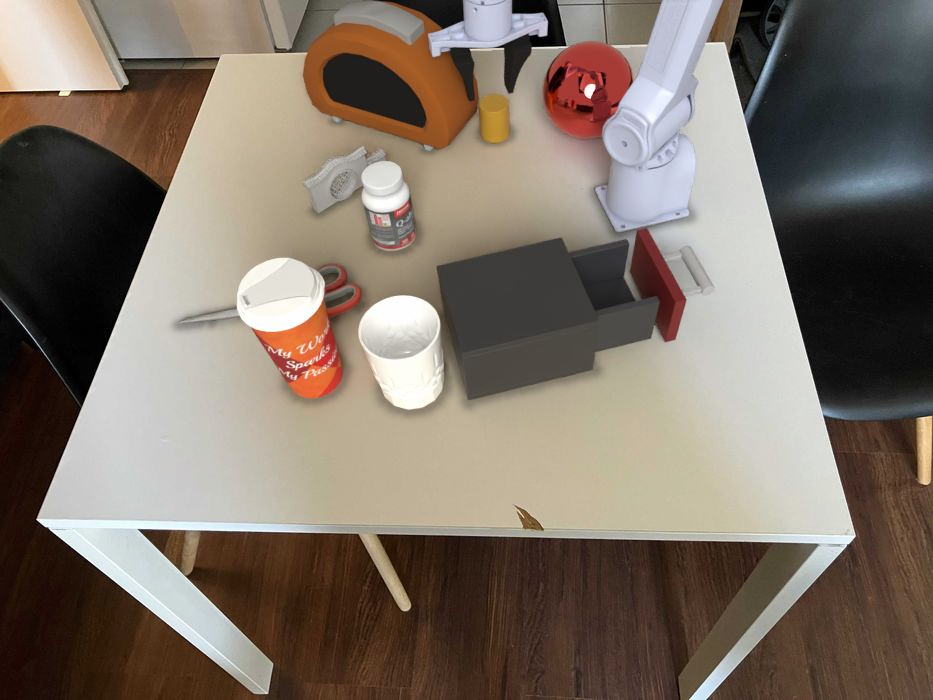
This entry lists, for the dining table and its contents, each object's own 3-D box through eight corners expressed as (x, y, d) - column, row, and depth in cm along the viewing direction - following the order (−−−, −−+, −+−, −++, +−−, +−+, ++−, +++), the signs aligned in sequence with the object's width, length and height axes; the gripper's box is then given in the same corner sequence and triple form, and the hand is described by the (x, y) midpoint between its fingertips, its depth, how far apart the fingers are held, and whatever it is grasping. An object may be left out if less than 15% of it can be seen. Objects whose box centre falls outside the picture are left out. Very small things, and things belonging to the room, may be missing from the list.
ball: (547, 99, 103) (549, 19, 93) (632, 104, 101) (643, 24, 91) (535, 154, 96) (535, 74, 87) (625, 161, 94) (636, 80, 85)
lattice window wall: (382, 164, 97) (374, 128, 93) (390, 170, 97) (383, 134, 92) (310, 210, 93) (298, 175, 88) (318, 217, 92) (307, 181, 88)
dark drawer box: (559, 289, 83) (561, 237, 76) (592, 370, 76) (599, 320, 69) (444, 316, 82) (436, 265, 75) (468, 400, 75) (462, 353, 68)
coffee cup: (292, 420, 75) (247, 335, 63) (268, 363, 80) (221, 274, 67) (366, 386, 77) (335, 297, 65) (338, 333, 81) (304, 240, 69)
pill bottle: (410, 255, 87) (398, 194, 79) (366, 250, 88) (350, 189, 80) (422, 221, 91) (411, 159, 83) (378, 217, 92) (364, 155, 84)
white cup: (422, 427, 74) (409, 373, 65) (361, 394, 76) (341, 339, 68) (463, 371, 77) (455, 313, 69) (403, 342, 80) (389, 283, 72)
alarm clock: (312, 118, 105) (279, 7, 91) (346, 83, 109) (320, -27, 95) (451, 162, 97) (438, 48, 83) (482, 123, 101) (475, 9, 88)
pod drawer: (676, 260, 83) (686, 218, 77) (715, 330, 77) (730, 289, 71) (534, 294, 81) (534, 253, 76) (563, 367, 75) (565, 329, 70)
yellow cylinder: (505, 122, 101) (504, 91, 97) (513, 139, 98) (512, 108, 94) (477, 128, 100) (475, 97, 96) (484, 145, 98) (482, 115, 94)
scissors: (178, 320, 84) (173, 312, 83) (349, 262, 87) (346, 254, 86) (188, 370, 80) (183, 362, 79) (367, 307, 83) (365, 299, 82)
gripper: (537, -37, 86) (533, 64, 97) (418, -16, 84) (428, 84, 96) (555, -6, 82) (549, 96, 93) (431, 17, 81) (440, 117, 92)
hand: (489, 92), depth 94 cm, fingers open, 5 cm apart
